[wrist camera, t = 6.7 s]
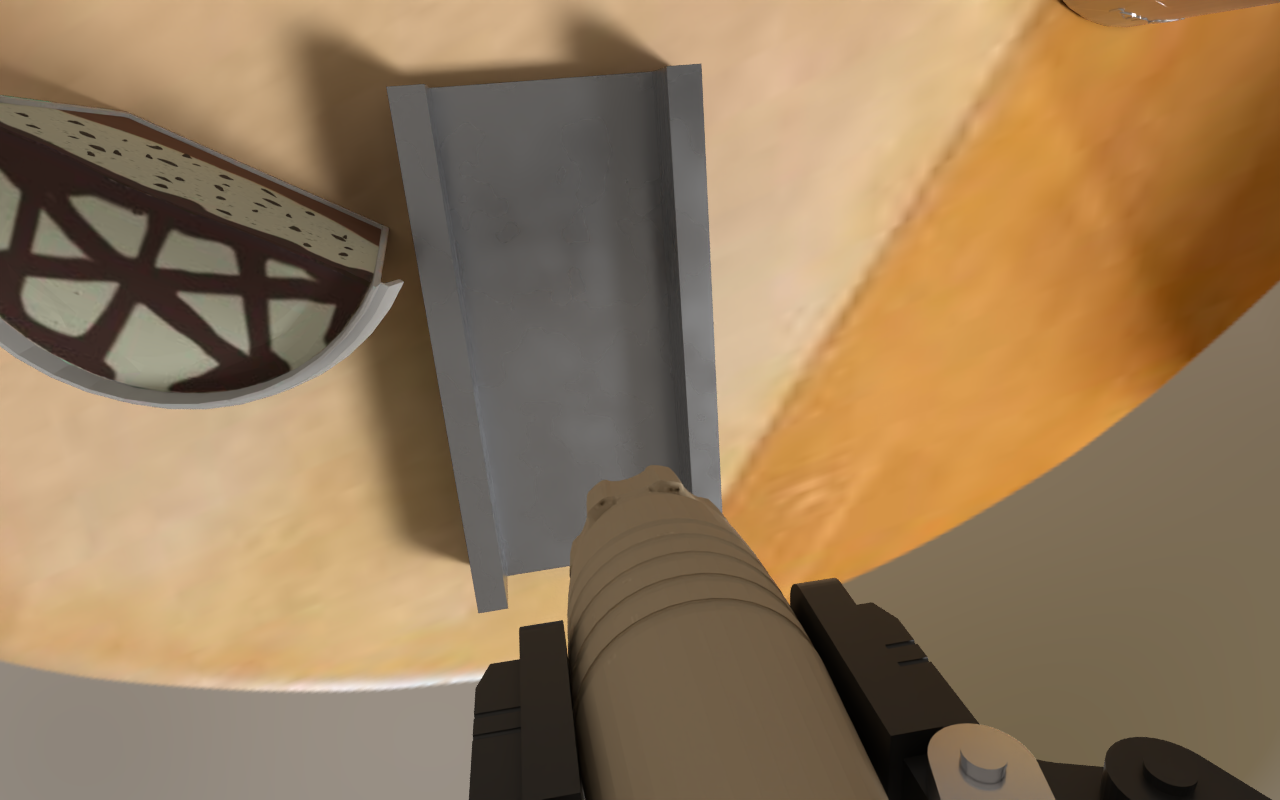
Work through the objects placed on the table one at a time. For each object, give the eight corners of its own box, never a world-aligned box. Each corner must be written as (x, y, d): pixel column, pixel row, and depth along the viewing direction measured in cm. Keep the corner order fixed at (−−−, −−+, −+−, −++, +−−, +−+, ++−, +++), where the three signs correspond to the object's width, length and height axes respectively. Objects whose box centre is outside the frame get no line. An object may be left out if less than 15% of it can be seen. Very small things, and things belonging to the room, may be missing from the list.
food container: (31, 255, 28) (-203, 317, 19) (78, 90, 26) (-149, 67, 17) (369, 383, 31) (316, 489, 22) (427, 244, 30) (395, 295, 21)
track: (398, 91, 28) (386, 86, 25) (678, 71, 30) (701, 63, 26) (480, 568, 35) (478, 613, 32) (704, 532, 36) (725, 572, 33)
